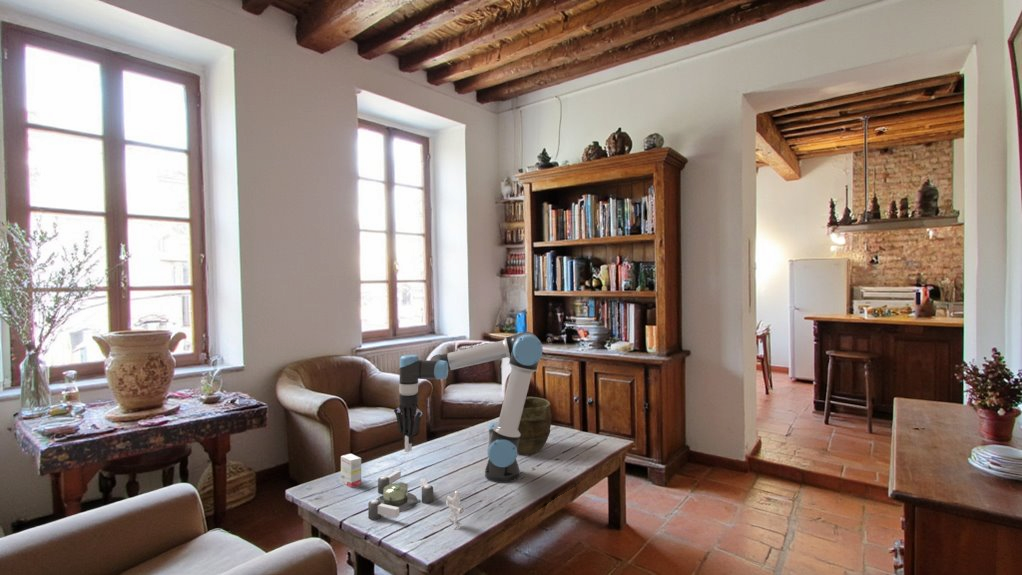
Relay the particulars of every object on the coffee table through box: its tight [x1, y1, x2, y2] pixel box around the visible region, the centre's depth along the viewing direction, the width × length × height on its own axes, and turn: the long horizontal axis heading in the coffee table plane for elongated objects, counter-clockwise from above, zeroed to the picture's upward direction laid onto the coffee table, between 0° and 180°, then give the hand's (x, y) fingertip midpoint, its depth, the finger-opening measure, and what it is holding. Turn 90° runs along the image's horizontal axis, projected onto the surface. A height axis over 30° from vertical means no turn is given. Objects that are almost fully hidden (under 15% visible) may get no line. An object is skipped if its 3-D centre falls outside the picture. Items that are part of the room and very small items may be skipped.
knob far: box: [377, 470, 402, 495], centre depth 196 cm, size 12×4×6 cm, turn 156°
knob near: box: [419, 477, 434, 505], centre depth 188 cm, size 12×4×6 cm, turn 21°
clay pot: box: [501, 396, 553, 456], centre depth 241 cm, size 25×25×25 cm
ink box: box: [340, 453, 362, 489], centre depth 201 cm, size 9×5×12 cm, turn 49°
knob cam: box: [367, 499, 400, 521], centre depth 170 cm, size 12×4×6 cm, turn 66°
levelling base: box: [375, 482, 421, 513], centre depth 180 cm, size 26×23×7 cm
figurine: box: [445, 490, 466, 530], centre depth 167 cm, size 5×9×12 cm, turn 57°
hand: (408, 450), depth 196 cm, fingers closed
